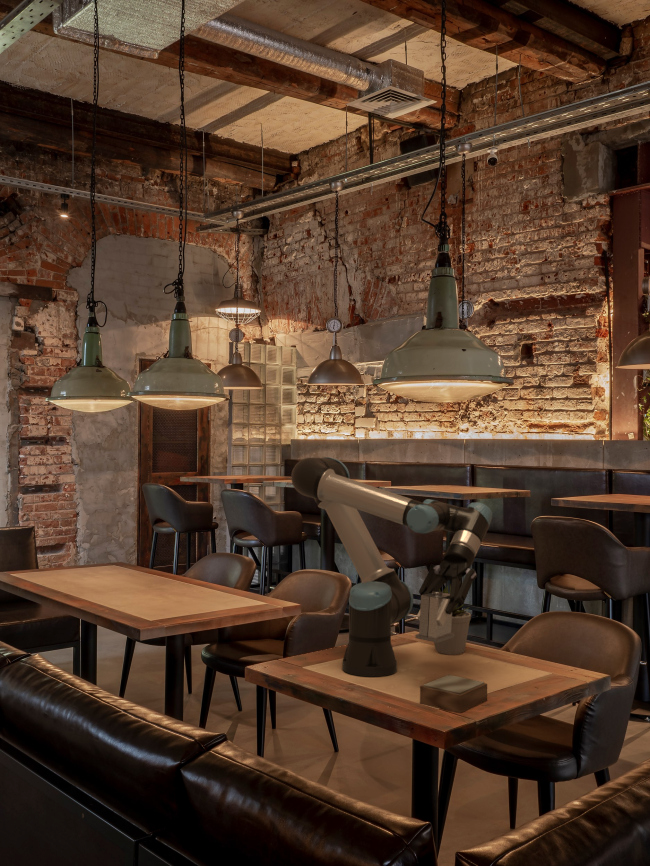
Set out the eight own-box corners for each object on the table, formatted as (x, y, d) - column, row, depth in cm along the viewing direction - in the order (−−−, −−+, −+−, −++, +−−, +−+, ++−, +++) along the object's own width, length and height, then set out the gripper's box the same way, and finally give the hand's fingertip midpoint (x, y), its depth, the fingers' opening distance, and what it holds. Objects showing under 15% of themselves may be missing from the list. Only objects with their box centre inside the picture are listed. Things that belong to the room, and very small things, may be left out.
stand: (420, 703, 191) (420, 684, 191) (447, 691, 201) (447, 673, 201) (460, 713, 184) (460, 693, 184) (487, 700, 194) (487, 682, 194)
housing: (415, 638, 204) (417, 592, 205) (432, 632, 212) (435, 587, 212) (437, 642, 201) (439, 596, 201) (454, 636, 208) (456, 591, 208)
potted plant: (481, 651, 244) (481, 585, 244) (454, 659, 234) (454, 590, 235) (447, 644, 253) (448, 580, 253) (420, 651, 243) (421, 585, 244)
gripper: (497, 563, 213) (466, 635, 200) (438, 557, 225) (405, 624, 211) (488, 545, 209) (456, 617, 196) (428, 539, 221) (394, 607, 207)
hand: (429, 621), depth 204 cm, fingers closed on housing, 5 cm apart
